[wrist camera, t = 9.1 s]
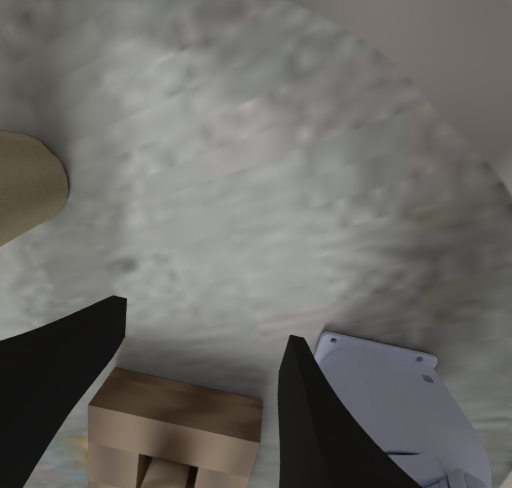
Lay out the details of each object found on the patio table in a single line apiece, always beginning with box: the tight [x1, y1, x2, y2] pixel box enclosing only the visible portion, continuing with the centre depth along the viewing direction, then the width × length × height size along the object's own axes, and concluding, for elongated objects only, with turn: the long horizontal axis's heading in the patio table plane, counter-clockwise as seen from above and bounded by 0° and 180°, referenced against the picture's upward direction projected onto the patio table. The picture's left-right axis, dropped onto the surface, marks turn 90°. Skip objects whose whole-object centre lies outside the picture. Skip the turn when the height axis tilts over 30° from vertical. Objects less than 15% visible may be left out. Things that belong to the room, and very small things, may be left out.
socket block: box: [88, 368, 263, 488], centre depth 27 cm, size 14×14×4 cm
